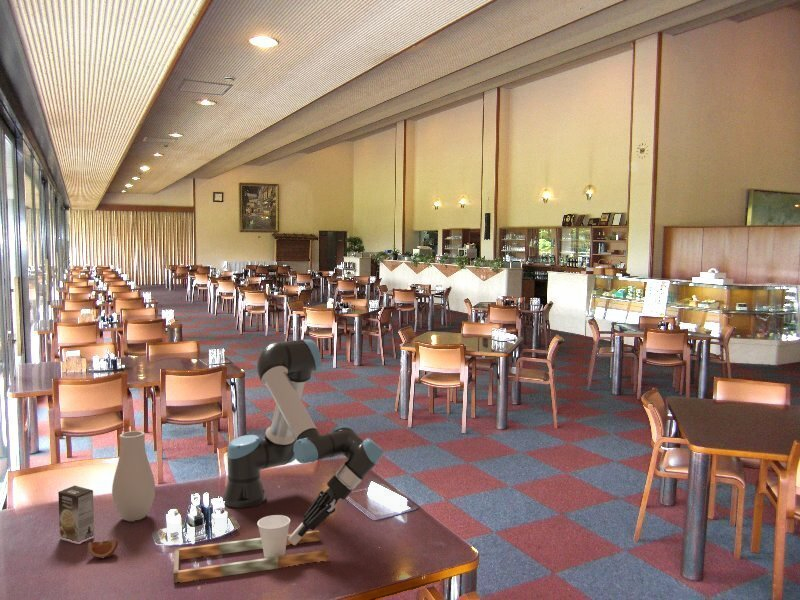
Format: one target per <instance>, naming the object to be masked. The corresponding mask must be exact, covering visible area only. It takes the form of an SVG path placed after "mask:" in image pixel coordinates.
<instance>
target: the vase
mask: <svg viewBox="0 0 800 600" xmlns="http://www.w3.org/2000/svg"><path fill="white" fill-rule="evenodd" d="M145 435H146V433H145V432H143V431H141V430H134V431H133V430H131V431H126V432H123V433H121V434H119V446H120V447H119V456H118V461H117V466H116V467H115V473H114V476H113V481H112V486H111V487H112V488H111V493H112V501H113V504H114V507H115V510H116V512H117V513H118V515H119V517H120V518H121V519H122V520H124V521H126V520H127V522H136V521H135V520H138V521H141V520H142V518H143V519H144V518H146V516H148V514H149V513H150V510H151V509H152V506H153V504H154V500H155V494H156V482H155V477H154V474H153V470H152V467H151V463H150V461H149V459H148V455H147V451H146V444H145V438H146V437H145ZM140 519H141V520H140Z"/></svg>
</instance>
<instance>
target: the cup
mask: <svg viewBox="0 0 800 600" xmlns="http://www.w3.org/2000/svg"><path fill="white" fill-rule="evenodd" d="M290 524H291V518H290V517H288V516H286V515H283V514H273V515H267V516H264V517H261V518H260V519H259V520H258V521H257V523H256V525H257V527H258V531H259V536H260V537H259V538H261V542H262V547H263V548H262V551H263V556H264V557H263V558H270V557H277V556H285V554H286V548H287V545H286V543H287V535H288V534H289V529H290Z"/></svg>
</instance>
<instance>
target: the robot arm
mask: <svg viewBox="0 0 800 600" xmlns="http://www.w3.org/2000/svg"><path fill="white" fill-rule="evenodd" d="M258 356H259V357H258V359H257V363H256V369H257V375H258V378H259V380H260V382H261V384H262V385H263V386H265V387H267V388H268V390H269V392H270V394H271V396H272V398H273V400H274V402H275V408H274V412H273V415H272V420H271V425H270V426H268V427H267V428H266V429H265V433H264V436H262V437H260V436H258V435H255V434H248V435H247V434H245V435H241V436H238V437H236V438H233V439H232V440H231V441H230V442H229V443H228V445H227V453H226V456H227V480H228V481H227V485H226V488H225V492H224V494H223V502H224V501H225V504H226V506H227V507H230V508H235V509H236V508H238V509H239V508H240V509H243V508H251V507H255V506H258V505H260V504H262V503H263V502H264V501H265V500H266V491H265V490H264V485H263V483H262V480H261V470H265V469H270V468H274V467H275V468H276V467H278V466H284V465H285V466H286V465H287V464H290V463H293V462H294V461H295V460H296V461H297V462H298V463H300V464H310V463H315V462H317V461H321V460H325V459H330V458H334V457H338V456H342V455H343V456H345V458H346V461H345V462H344V463H343V464H342V465H341V466H340V467H339V469H338V470H337V471H336V472H335V475H333V476H332V477H331V478H330V479H329V480H328V481H327V483H326V485H327V487H328V488H327V489H326V490H325V491H323V490H321V491H319V493H318V495H317V497H316V498H315V500H314V501H313V502H312V503H311V505H310V507H308V509H307V510H306V512H305V513H304V514H303V516H302V518H303V519H302V522H301V523H300V524H299V525H298V526H297V528H296V529H295V530H293V532H292V533H290V534H291V535H290V537H289V538H288V541H289V542H291V543H292V545H293V546H296V545H298V544H297V543H298V542H299V540H300V539H301V538H302V537H303V536H304V535H305V534H306V532H308V531H310V530H311V531H315V529H316V528H317V527H318V526H319V525H320V524H322V522H324V521H325V520H326V519H327V518H328V517H329V516H330V515H331V514H333V513H335V511H336V508H335V506H336V505H337V504H338V501H340V499H341V500H342V501H343V500H344V501H345V500H346V499H347V498H348V497H349V496H350V495H351V493H352V490H354V489H355V488H356V487H357V486H359V485H361V482H362V481H363V479H364V478H365V477H366V476H367V474H368V473H369V472H370V471H371V470H372V469H373V468H374V467H375V466H376V465H378V463H379V461H380V460H381V459H382V457H383V456H384V454H385V452H384V450H383V449H382V447H381V446H379V445H378V444H377V443H376V442H374V440H372V438H370V437H367V438H366V439H362V438H361V436H359V435H358V434H357V433H356V432H355V430H354V429H353V428H351V427H350V426H349V425H347V424H345V423H340V424H337V425H336V426H334V427H333V428H332V429H331V431H330V432H329V433H324V434H320V432H319V430H318V428H317V426H316V424H315V422H314V421H313V420H312V418H311V415H310V413H309V412H308V410H307V408H306V407H305V404H304V403H303V401H302V396H303V393H304V388H305V384H306V383H307V382H309V381H311V377H312V374H313V372H316V371H318V370H319V369H320V368H321V366H322V354H321V352H320V348H319V346H318V345H317V343H316V342H315V341H314V340H312V339H303V338H302V339H300V340H287V341H276V342H271V343H269V344H268V345H266V346H265V347H264V348H263V349H262V351H261V352H260V354H259V355H258ZM225 504H224V505H225Z"/></svg>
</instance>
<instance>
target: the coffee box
mask: <svg viewBox="0 0 800 600" xmlns="http://www.w3.org/2000/svg"><path fill="white" fill-rule="evenodd" d="M57 494H58V515H59V516H58V517H59V518H58V522H59V526H58V527H59V538H60V537H62V538H66V539H70V540H72V541H76V542H80V541H82V540H85V539H87V538H89V537H92V536H94V537H95V515H94V514H95V513H94V490H93V489H89V488H85V487H82V486H79V485H72V486H70V487H67V488H64V489H62V490H60V491H58V493H57Z"/></svg>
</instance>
